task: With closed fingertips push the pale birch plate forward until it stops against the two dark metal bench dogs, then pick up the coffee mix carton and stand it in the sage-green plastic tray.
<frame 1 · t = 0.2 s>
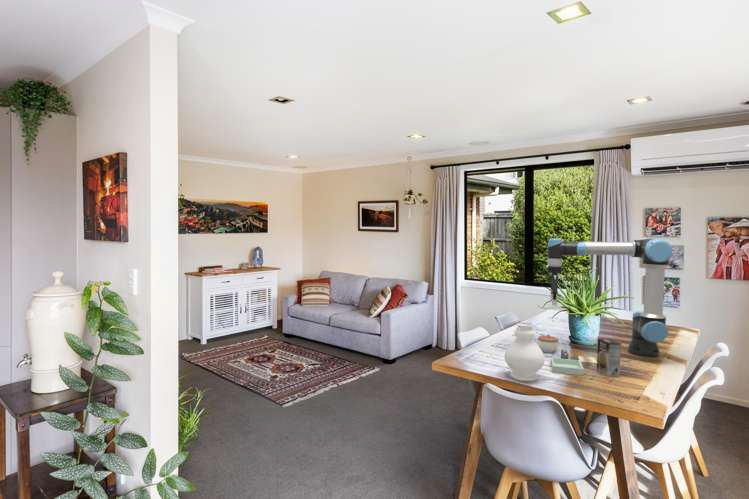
hand: (553, 303, 246), 28 cm above the table, fingers open, 13 cm apart
decorative vase: (523, 377, 206), on the table
bench dogs: (564, 361, 230), on the table
lidded jar: (547, 351, 249), on the table
tray: (566, 369, 217), on the table
coffee box: (607, 373, 212), on the table
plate: (587, 364, 227), on the table
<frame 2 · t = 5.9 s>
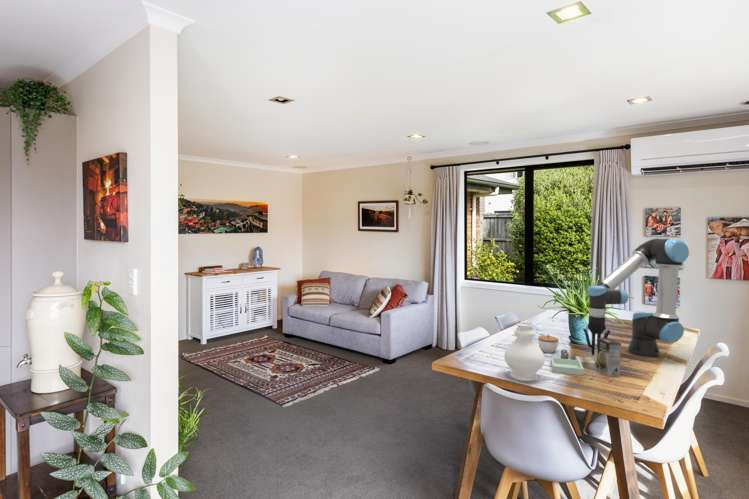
hand: (595, 361, 226), 2 cm above the table, fingers closed
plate: (585, 364, 227), on the table
everything else where it was.
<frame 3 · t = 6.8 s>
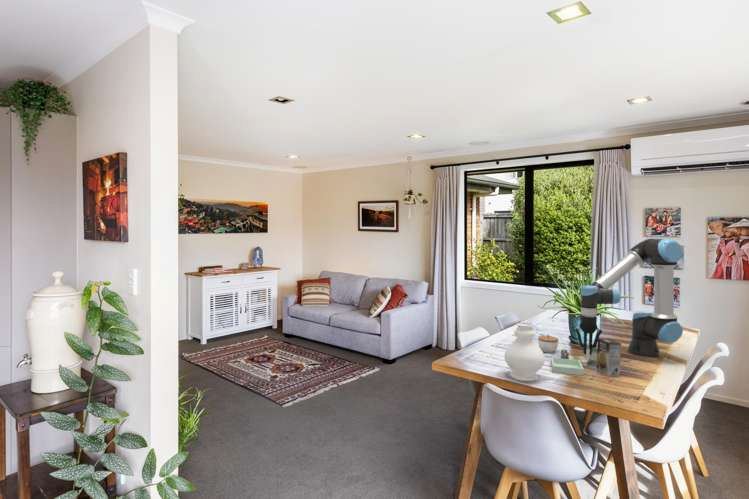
hand: (587, 360, 227), 1 cm above the table, fingers closed
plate: (577, 363, 228), on the table, touching gripper
everything else where it was.
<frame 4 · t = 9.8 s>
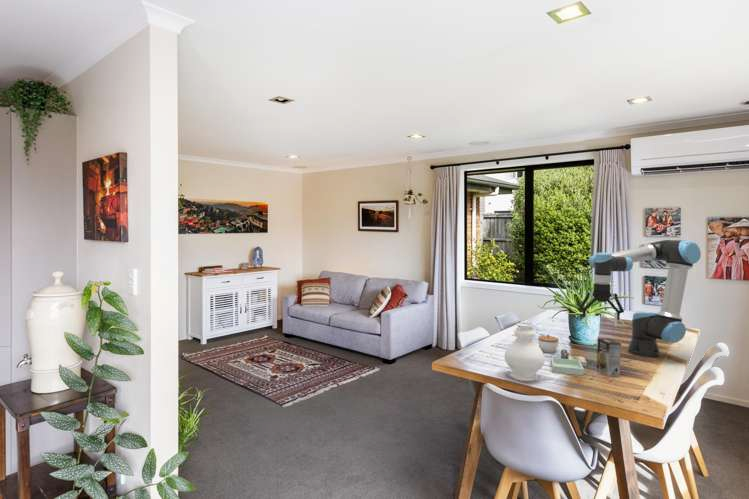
hand: (600, 324, 222), 21 cm above the table, fingers open, 13 cm apart
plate: (576, 363, 228), on the table
everything else where it was.
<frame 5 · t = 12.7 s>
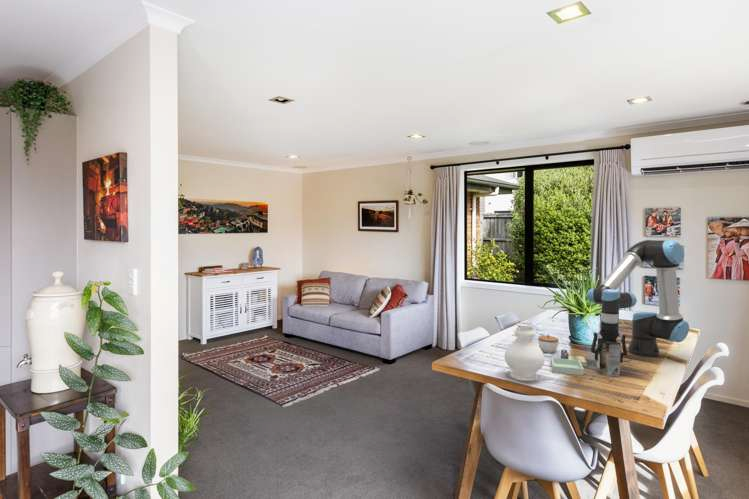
hand: (608, 368, 211), 3 cm above the table, fingers closed on coffee box, 8 cm apart
coffee box: (607, 373, 212), on the table, touching gripper
everything else where it was.
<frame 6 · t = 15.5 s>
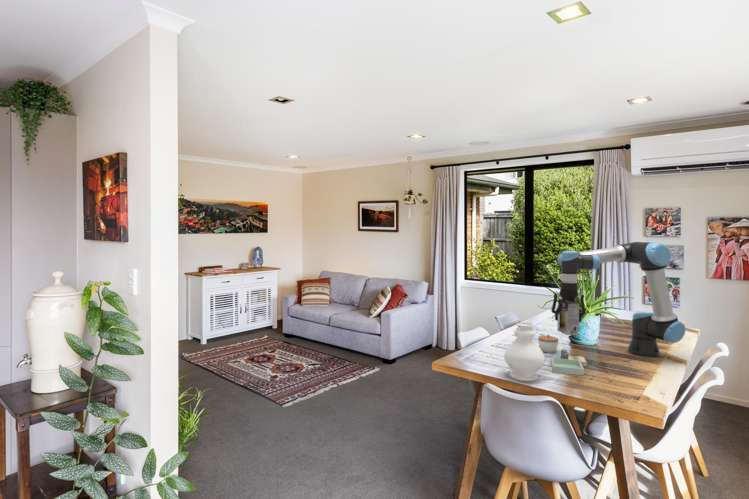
hand: (567, 327, 216), 21 cm above the table, fingers closed on coffee box, 8 cm apart
coffee box: (567, 333, 216), point 18 cm above the table, touching gripper
everything else where it was.
when the fingers open (5 cm above the table, at t = 18.8 s): coffee box drops 2 cm, resting on tray.
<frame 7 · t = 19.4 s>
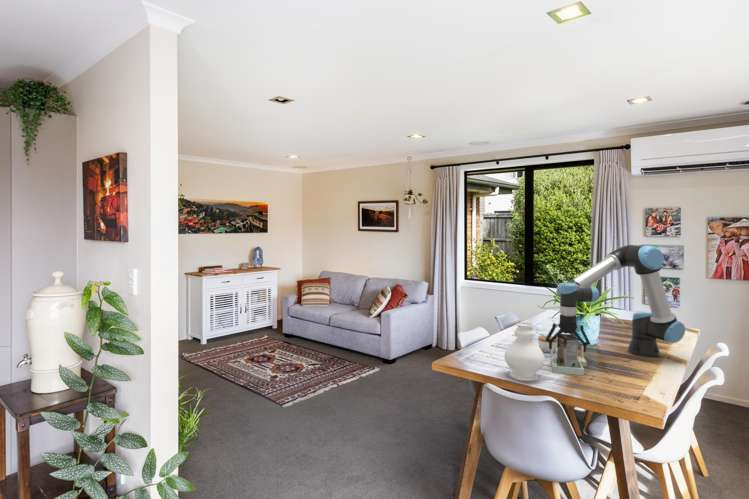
hand: (566, 357, 217), 6 cm above the table, fingers open, 13 cm apart
coffee box: (566, 368, 217), resting on tray
everything else where it was.
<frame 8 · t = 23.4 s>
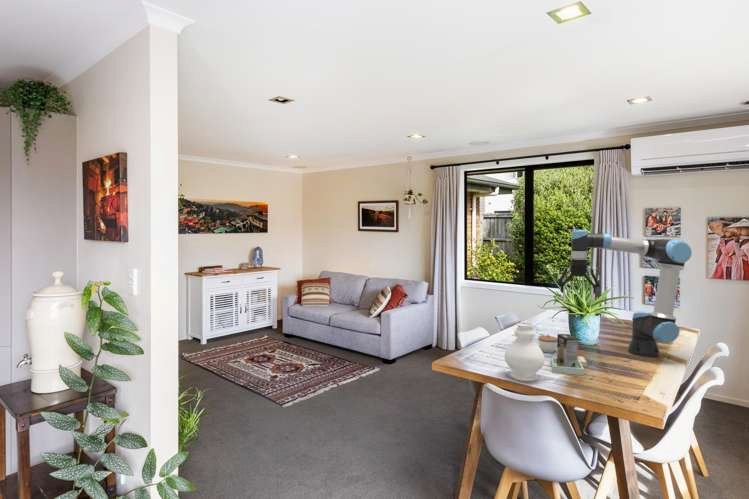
hand: (577, 299, 231), 33 cm above the table, fingers open, 13 cm apart
nothing on the table moved.
at the end: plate inside the target area (0.5 cm from its centre), on the table; coffee box inside the target area on the tray (0.1 cm from its centre), point 0.4 cm above the tray's base; coffee box tilted 0° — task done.
